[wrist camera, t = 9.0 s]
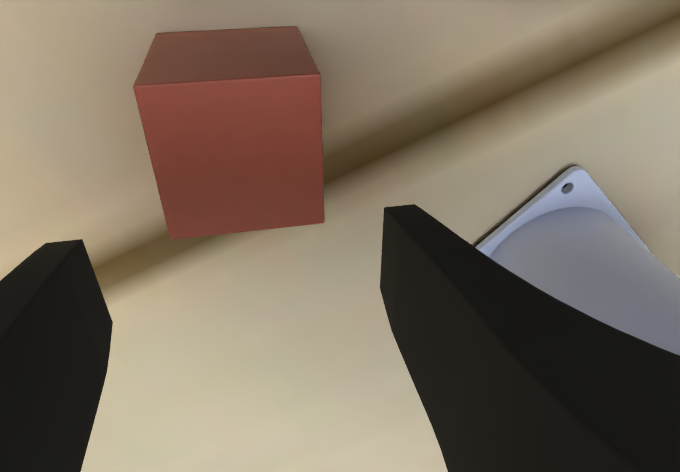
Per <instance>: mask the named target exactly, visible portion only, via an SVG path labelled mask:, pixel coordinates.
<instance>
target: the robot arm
mask: <svg viewBox="0 0 680 472" xmlns="http://www.w3.org/2000/svg"><path fill="white" fill-rule="evenodd" d="M567 183H568V185H567V186H566V187H565V188H563V189H562V187H563V186H564V185H565V184H567ZM380 290H381V293H382V297H383V301H384V305H385V309H386V312H387V316H388V319H389V323H390V326H391V330H392V332H393V335H394V337H395V340H396V342H397V345H398V347H399V349H400V352H401V354H402V357H403V359H404V361H405V364H406V366H407V368H408V371H409V373H410V375H411V378H412V380H413V382H414V385H415V387H416V389H417V392H418V394H419V397H420V399H421V401H422V404H423V406H424V408H425V411H426V413H427V415H428V418H429V420H430V422H431V425H432V427H433V430H434V432H435V435H436V437H437V440H438V443H439V445H440V448H441V451H442V454H443V457H444V460H445V464H446V467H447V470H448V472H680V278H679V277H677V276H676V275H675V274H674V273H673V272H672V271H671V270H669V269H668V268H667V267H666V266H665V265H664V264H663V263H661V262H660V261H659V260H658V259H657V258H656V257H655V256H653V255H652V253H651V251H650V250H649V249H648V248H647V246H646V245H645V244H644V243H643V241H642V240H641V239H640V238H639V236H638V235H637V234H636V233H635V231H634V230H633V229H632V228H631V226H630V225H629V224H628V223H627V221H626V220H625V219H624V218H623V216H622V215H621V214H620V213H619V211H618V210H617V209H616V208H615V206H614V205H613V204H612V203H611V201H610V200H609V199H608V198H607V196H606V195H605V194H604V193H603V191H602V190H601V189H600V188H599V186H598V185H597V184H596V183H595V181H594V180H593V179H592V178H591V176H590V175H589V174H588V173H587V171H585V170H584V169H583V168H582V167H580V166H573V167H570V168H569V169H567V170H566V171H565V172H564V173H563V174H561V175H560V176H559V177H558V178H557V179H555V180H554V181H553V182H552V183H551V184H549V185H548V186H547V187H546V188H545V189H544V190H542V191H541V192H540V193H539V194H538V195H536V196H535V197H534V198H533V199H532V200H530V201H529V202H528V203H527V204H526V205H525V206H523V207H522V208H521V209H520V210H519V211H517V212H516V213H515V214H514V215H513V216H511V217H510V218H509V219H508V220H507V221H506V222H504V223H503V224H502V225H501V226H500V227H498V228H497V229H496V230H495V231H494V232H492V233H491V234H490V235H489V236H488V237H487V238H485V239H484V240H483V241H482V242H481V243H479V244H478V245H477V246H476V247H473V246H472V245H470V244H469V243H468V242H466V241H465V240H464V239H462V238H461V237H459V236H458V235H457V234H455V233H454V232H452V231H451V230H450V229H448V228H447V227H446V226H444V225H443V224H442V223H440V222H439V221H437V220H436V219H435V218H433V217H432V216H431V215H429V214H428V213H427V212H425V211H424V210H422V209H421V208H419V207H418V206H416V205H415V204H413V205H404V206H394V207H385V208H384V221H383V240H382V259H381V279H380ZM112 323H113V322H112V320H111V317H110V314H109V311H108V309H107V306H106V303H105V300H104V298H103V295H102V292H101V289H100V287H99V284H98V281H97V279H96V276H95V273H94V270H93V268H92V265H91V262H90V259H89V257H88V254H87V251H86V248H85V246H84V243H83V240H82V239H81V240H72V241H62V242H53V243H46V244H44V245H43V246H41V247H40V248H39V249H37V250H36V251H35V252H34V253H32V254H31V255H30V256H29V257H28V258H26V259H25V260H24V261H23V262H22V263H20V264H19V265H18V266H17V267H16V268H15V269H14V270H12V271H11V272H10V273H9V274H8V275H7V276H5V277H4V278H3V279H2V280H1V281H0V472H80V471H81V468H82V464H83V460H84V456H85V453H86V449H87V445H88V442H89V438H90V434H91V430H92V427H93V423H94V419H95V416H96V412H97V408H98V404H99V400H100V397H101V393H102V389H103V385H104V381H105V377H106V373H107V367H108V359H109V352H110V343H111V333H112Z"/></svg>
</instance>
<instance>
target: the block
mask: <svg viewBox="0 0 680 472" xmlns="http://www.w3.org/2000/svg"><path fill="white" fill-rule="evenodd" d="M133 88H134V92H135V96H136V100H137V104H138V109H139V113H140V117H141V121H142V125H143V129H144V133H145V137H146V141H147V146H148V150H149V154H150V158H151V162H152V166H153V170H154V174H155V178H156V183H157V187H158V191H159V195H160V199H161V203H162V207H163V211H164V215H165V220H166V224H167V228H168V232H169V236H170V239H181V238H190V237H200V236H209V235H218V234H227V233H237V232H246V231H255V230H264V229H274V228H283V227H292V226H301V225H311V224H320V223H324V221H325V218H324V183H323V147H322V112H321V76H320V73H319V71H318V69H317V67H316V65H315V63H314V61H313V59H312V57H311V55H310V53H309V50H308V48H307V46H306V44H305V42H304V40H303V38H302V36H301V34H300V32H299V30H298V28H297V27H296V26H289V27H269V28H249V29H229V30H210V31H190V32H170V33H157V34H156V35H155V38H154V40H153V42H152V44H151V47H150V49H149V51H148V54H147V56H146V58H145V61H144V63H143V65H142V67H141V70H140V72H139V74H138V77H137V79H136V81H135V83H134V86H133Z"/></svg>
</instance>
